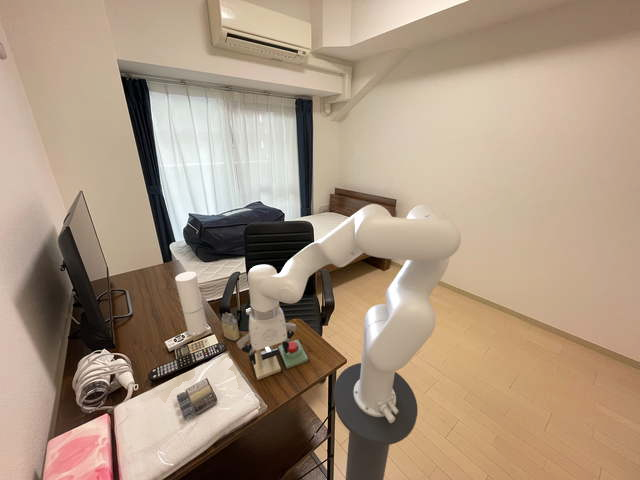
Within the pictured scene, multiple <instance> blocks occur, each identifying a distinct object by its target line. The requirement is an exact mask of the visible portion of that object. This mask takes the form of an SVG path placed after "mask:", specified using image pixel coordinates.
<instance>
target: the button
mask: <svg viewBox="0 0 640 480" xmlns="http://www.w3.org/2000/svg"><path fill="white" fill-rule="evenodd" d="M296 351H297V343H296V342H292V341H290V342H289V348H288V352H290V353H294V352H296Z"/></svg>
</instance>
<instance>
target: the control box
mask: <svg viewBox="0 0 640 480" xmlns="http://www.w3.org/2000/svg"><path fill="white" fill-rule="evenodd" d="M291 342H296V343H297V351H296V352H294V353H290V352H288V353H285V351H284V349H283V346H282V344H280V345H277V349H278V351H279V355H280V356H281V359H282V361H283V364H284V366H285V369H290V368H293V367H296V366H298V365H301V364H303V363H306V362H308V361H309V358H308V355H307V354H306V352H305V350H304V348H303V346H302V344H301V342H300V341H299V339H295V340H292V341H291Z"/></svg>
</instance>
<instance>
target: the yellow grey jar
mask: <svg viewBox="0 0 640 480" xmlns="http://www.w3.org/2000/svg"><path fill="white" fill-rule="evenodd" d="M221 316H222V317H221V327H222V332H223V337H225V338H226V340H231V341H232V342H233V341H234V342H235V341H238V340H239V339H240V331H239V326H238V321H237V319H236V318H235V315H233V314H232V313H231V312H230V313H228V312H225V313H222V315H221Z"/></svg>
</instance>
